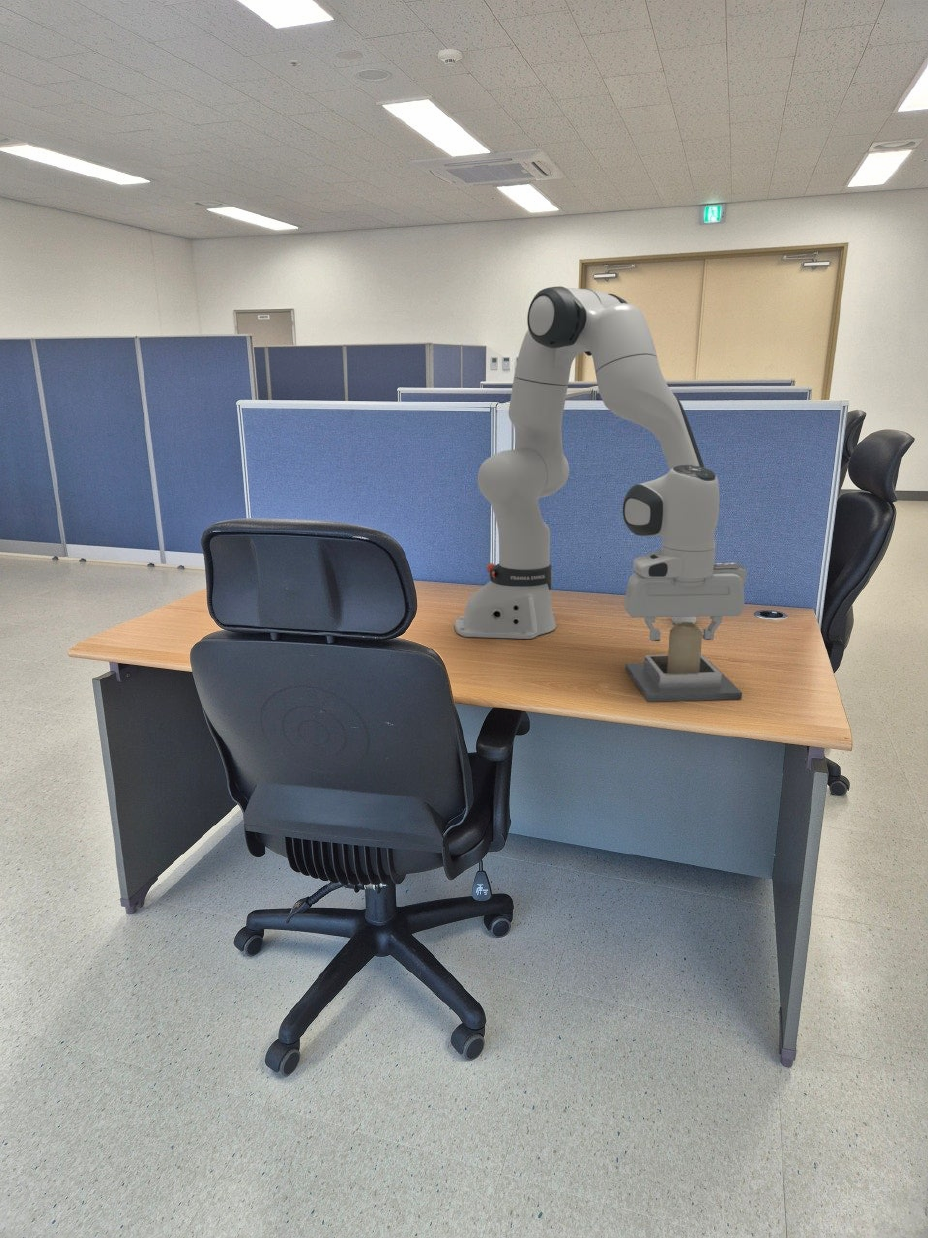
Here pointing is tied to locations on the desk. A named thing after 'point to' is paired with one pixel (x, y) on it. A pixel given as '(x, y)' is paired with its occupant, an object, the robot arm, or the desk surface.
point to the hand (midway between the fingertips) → (681, 639)
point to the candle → (684, 648)
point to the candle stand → (680, 681)
